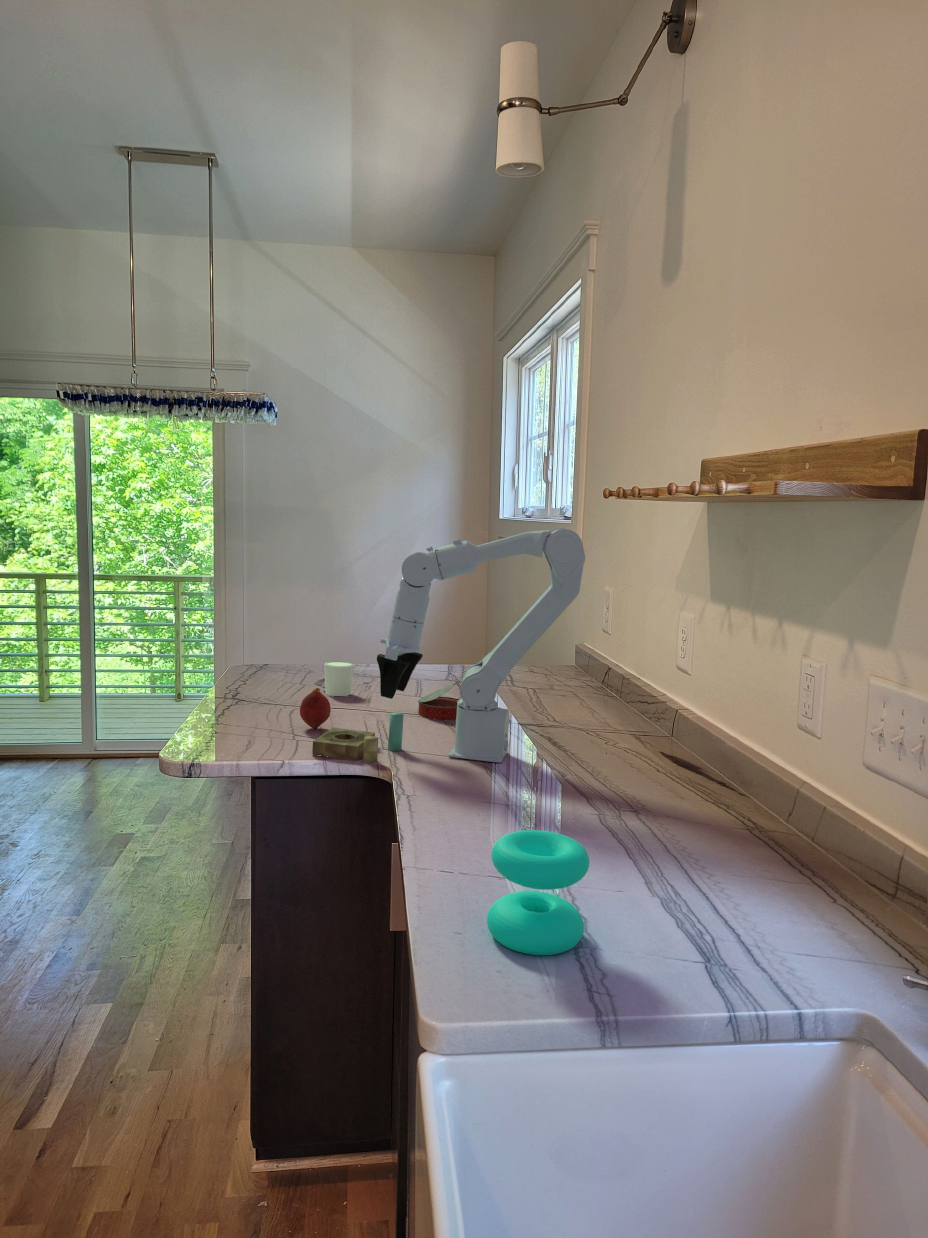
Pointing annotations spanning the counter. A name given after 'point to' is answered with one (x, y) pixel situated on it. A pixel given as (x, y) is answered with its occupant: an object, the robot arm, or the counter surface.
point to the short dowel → (370, 749)
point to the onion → (315, 708)
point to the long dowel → (395, 731)
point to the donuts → (537, 892)
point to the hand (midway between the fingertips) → (392, 693)
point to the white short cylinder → (338, 678)
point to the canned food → (438, 705)
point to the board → (341, 744)
